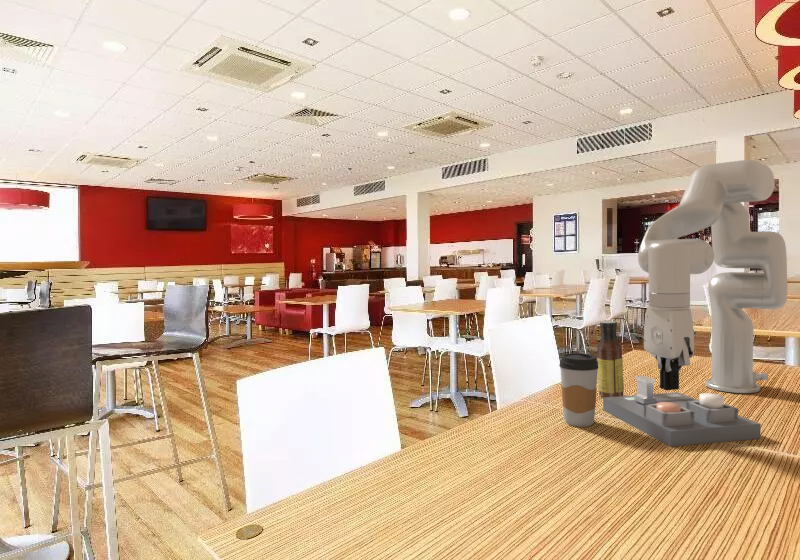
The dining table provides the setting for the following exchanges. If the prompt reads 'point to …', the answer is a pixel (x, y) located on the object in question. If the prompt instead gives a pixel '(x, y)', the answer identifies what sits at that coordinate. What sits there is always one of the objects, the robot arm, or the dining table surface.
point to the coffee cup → (579, 388)
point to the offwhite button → (711, 401)
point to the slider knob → (645, 390)
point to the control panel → (683, 420)
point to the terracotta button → (668, 407)
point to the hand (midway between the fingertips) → (669, 388)
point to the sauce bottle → (610, 362)
